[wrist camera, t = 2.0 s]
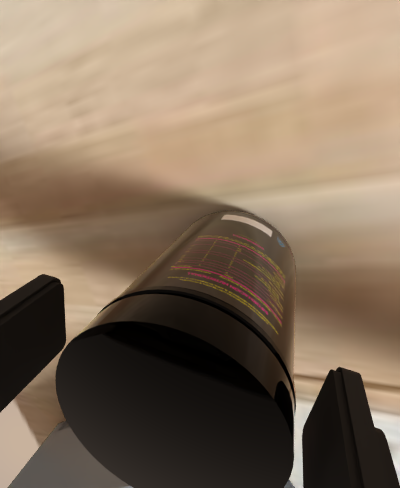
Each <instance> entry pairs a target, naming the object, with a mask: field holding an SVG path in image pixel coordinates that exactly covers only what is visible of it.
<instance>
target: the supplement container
mask: <svg viewBox="0 0 400 488" xmlns="http://www.w3.org/2000/svg"><path fill="white" fill-rule="evenodd" d="M295 290H296V266H295V260H294V256H293V253H292V251H291V248H290V246H289V245H288V243H287V241H286V240H285V238H284V237H283V236H282V235H281V233H280V232H279V231H278V230H277V229H276V228H275V227H273V226H272V225H271V224H269V223H268V222H266V221H265V220H263V219H261V218H259V217H257V216H254V215H252V214H248V213H245V212H239V211H221V212H216V213H212V214H209V215H207V216H204V217H202V218H201V219H199V220H197V221H196V222H195V223H193V224H192V225H191V226H190V227H189V228H188V229H187V230H186V231H185V232H184V233H183V234H182V235H181V236H180V237H179V238H178V239H177V240H176V241H175V242H174V243H173V244H172V245H171V246H170V247H169V248H168V249H167V250H165V251H164V252H163V253H162V254H161V255H160V256H159V257H158V258H157V259H156V260H155V261H154V262H153V263H152V264H151V265H150V266H149V267H148V268H147V269H146V270H145V271H144V272H143V273H142V274H141V275H140V276H139V277H138V278H137V279H136V280H135V281H134V282H133V283H132V284H131V285H130V286H129V287H128V288H127V289H126V290H125V291H124V292H123V293H121V294H120V295H119V296H118V297H117V298H115V299H114V300H112V301H111V302H110V303H109V304H107V305H106V306H105V307H104V308H103V309H102V310H101V311H100V312H99V313H98V315H97V316H96V317H95V318H94V319H93V320H92V321H91V322H90V323H89V324H88V325H87V326H86V327H85V328H84V329H83V330H82V331H81V332H80V333H79V334H78V335H77V336H76V337H75V338H74V339H73V340H72V341H71V342H70V343H69V344H68V345H67V346H66V348H65V349H64V351H63V352H62V354H61V357H60V359H59V362H58V365H57V370H56V391H57V396H58V400H59V403H60V406H61V409H62V412H63V414H64V416H65V418H66V420H67V422H68V424H69V426H70V428H71V429H72V431H73V432H74V434H75V435H76V437H77V438H78V439H79V441H80V442H81V443H82V445H83V446H84V447H85V448H86V449H87V450H88V452H89V453H90V454H91V455H92V456H93V457H94V458H95V459H96V460H97V461H98V462H99V463H100V464H102V465H103V466H104V467H105V468H106V469H107V470H109V471H110V472H111V473H112V474H114V475H115V476H116V477H118V478H119V479H121V480H122V481H124V482H125V483H127V484H128V485H130V486H131V487H133V488H284V487H285V485H286V484H287V482H288V480H289V477H290V475H291V472H292V468H293V461H294V417H295V410H296V391H295V386H294V346H295Z"/></svg>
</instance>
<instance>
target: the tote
mask: <svg viewBox="0 0 400 488" xmlns="http://www.w3.org/2000/svg"><path fill="white" fill-rule="evenodd" d="M8 488H133V487H131V486H130V485H128V484H127V483H125V482H124V481H122V480H121V479H119V478H118V477H116V476H115V475H114V474H112V473H111V472H110V471H109V470H107V469H106V468H105V467H104V466H103V465H102V464H100V463H99V462H98V461H97V460H96V459H95V458H94V457H93V456H92V455H91V454H90V453H89V452H88V450H87V449H86V448H85V447H84V446H83V445H82V443H81V442H80V441H79V439H78V438H77V437H76V435H75V434H74V432H73V431H72V429H71V428H70V426H69V424H68V422H67V421H65V422H62V423H59V424H58V425H57V426H56V427H55V428H54V430H53V431H52V432H51V433H50V435H49V436H48V437H47V439H46V440H45V441H44V442H43V444H42V445H41V446H40V447H39V449H38V450H37V451H36V453H35V454H34V455H33V457H31V459H30V460H29V461H28V463H27V464H26V465H25V466H24V468H23V469H22V470H21V471H20V473H19V474H18V475H17V477H16V478H15V479H14V480H13V481H12V483H11V484H10V485H9V487H8ZM284 488H295V487H294V486H293V485H292V483H291V482H290V480H288V482H287V484H286V485H285V487H284Z"/></svg>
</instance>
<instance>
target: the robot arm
mask: <svg viewBox="0 0 400 488" xmlns="http://www.w3.org/2000/svg"><path fill="white" fill-rule="evenodd" d="M65 343H66V328H65V307H64V287H63V285H62V284H61V281H60V280H59V279H58V278H55V277H52V276H49V275H46V274H42V275H40V276H38V277H37V278H35V279H33V280H32V281H30V282H29V283H27V284H25V285H24V286H22V287H21V288H19V289H18V290H16V291H14V292H13V293H11V294H10V295H8V296H6V297H5V298H3V299H2V300H0V412H1V411H2V410H3V409H4V408H5V407H6V406H7V405H8V404H9V403H10V402H11V401H12V400H13V399H14V398H15V397H16V396H17V395H18V394H19V393H20V392H21V391H22V390H23V389H24V388H25V387H26V386H27V385H28V384H29V383H30V382H31V381H32V380H33V379H34V378H35V377H36V376H37V375H38V374H39V373H40V372H41V371H42V370H43V369H44V368H45V367H46V366H47V365H48V363H49V362H50V361H51V360H52V359H53V358H54V357H55V356H56V355H57V354H58V353H59V352H60V351H61V350H62V349H63V347H64V346H65ZM302 449H303V487H304V488H400V485H399V481H398V478H397V474H396V471H395V467H394V464H393V460H392V457H391V453H390V450H389V446H388V443H387V439H386V437H385V434H384V433H383V431H382V430H380V429H378V428H375V427H374V424H373V420H372V416H371V412H370V408H369V405H368V401H367V397H366V393H365V389H364V385H363V381H362V378H361V375H360V374H359V373H357V372H354V371H351V370H348V369H345V368H341V367H338V368H337V370H336V371H335V370H330V371H329V373H328V375H327V378H326V380H325V382H324V384H323V386H322V388H321V390H320V393H319V395H318V397H317V399H316V401H315V403H314V405H313V408H312V410H311V412H310V414H309V416H308V418H307V421H306V423H305V425H304V428H303V434H302Z"/></svg>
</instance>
